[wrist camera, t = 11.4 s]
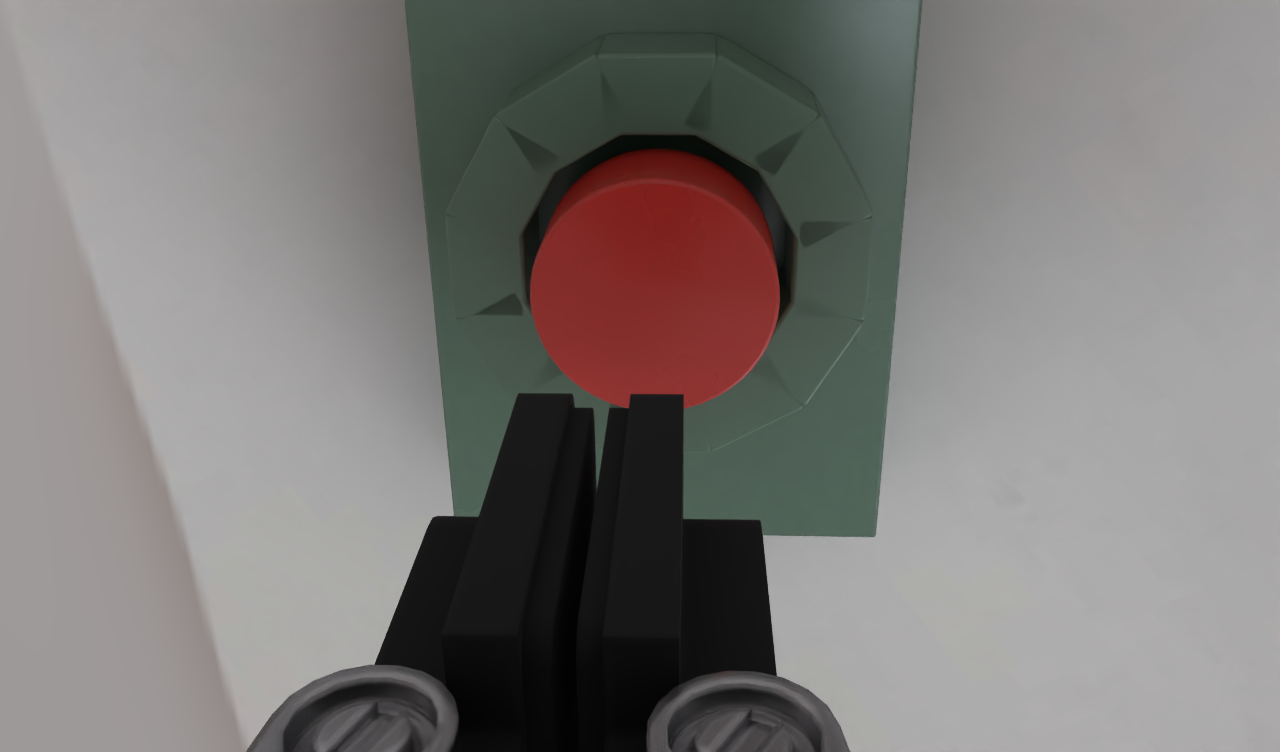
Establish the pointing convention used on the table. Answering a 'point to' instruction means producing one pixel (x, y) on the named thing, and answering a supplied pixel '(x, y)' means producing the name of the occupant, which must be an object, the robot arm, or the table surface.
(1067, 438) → the table surface
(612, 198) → the button
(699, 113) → the button box
